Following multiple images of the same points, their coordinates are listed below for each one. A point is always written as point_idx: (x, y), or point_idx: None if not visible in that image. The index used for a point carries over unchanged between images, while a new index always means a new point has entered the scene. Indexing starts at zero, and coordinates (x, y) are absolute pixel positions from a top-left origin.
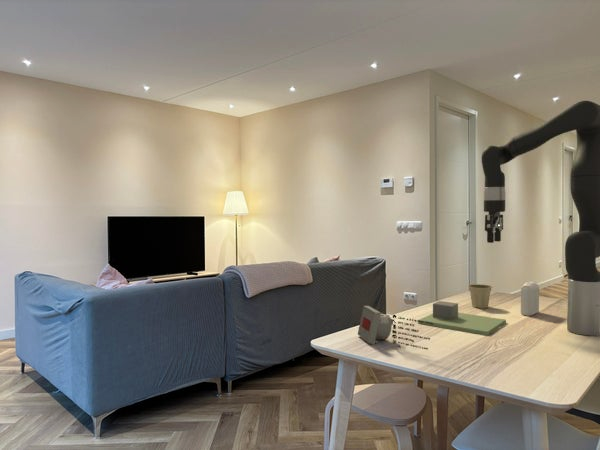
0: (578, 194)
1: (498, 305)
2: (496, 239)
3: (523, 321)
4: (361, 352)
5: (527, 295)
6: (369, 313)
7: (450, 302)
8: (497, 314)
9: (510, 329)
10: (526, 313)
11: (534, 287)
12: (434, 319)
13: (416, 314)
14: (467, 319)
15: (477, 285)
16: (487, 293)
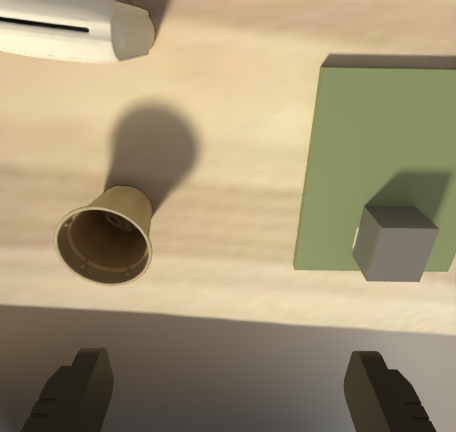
0: None
1: (56, 166)
2: (105, 390)
3: (257, 14)
4: None
5: (131, 23)
6: None
7: (376, 250)
8: (203, 128)
9: (409, 25)
10: (152, 28)
11: None
12: None
13: (344, 300)
14: (383, 174)
15: (72, 264)
16: (121, 206)
